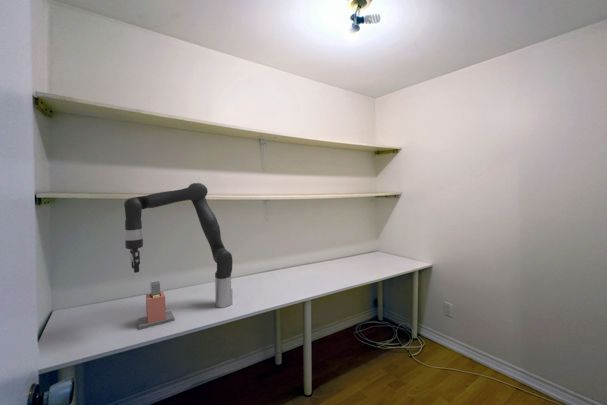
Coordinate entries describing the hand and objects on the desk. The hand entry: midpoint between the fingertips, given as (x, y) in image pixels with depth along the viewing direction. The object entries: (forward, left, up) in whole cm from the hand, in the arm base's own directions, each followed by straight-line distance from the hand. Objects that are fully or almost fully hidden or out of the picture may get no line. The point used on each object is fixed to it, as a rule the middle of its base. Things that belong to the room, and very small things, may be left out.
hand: (135, 270), depth 136 cm
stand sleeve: (-9, 0, -29) cm, 30 cm away
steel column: (-9, 0, -27) cm, 28 cm away
